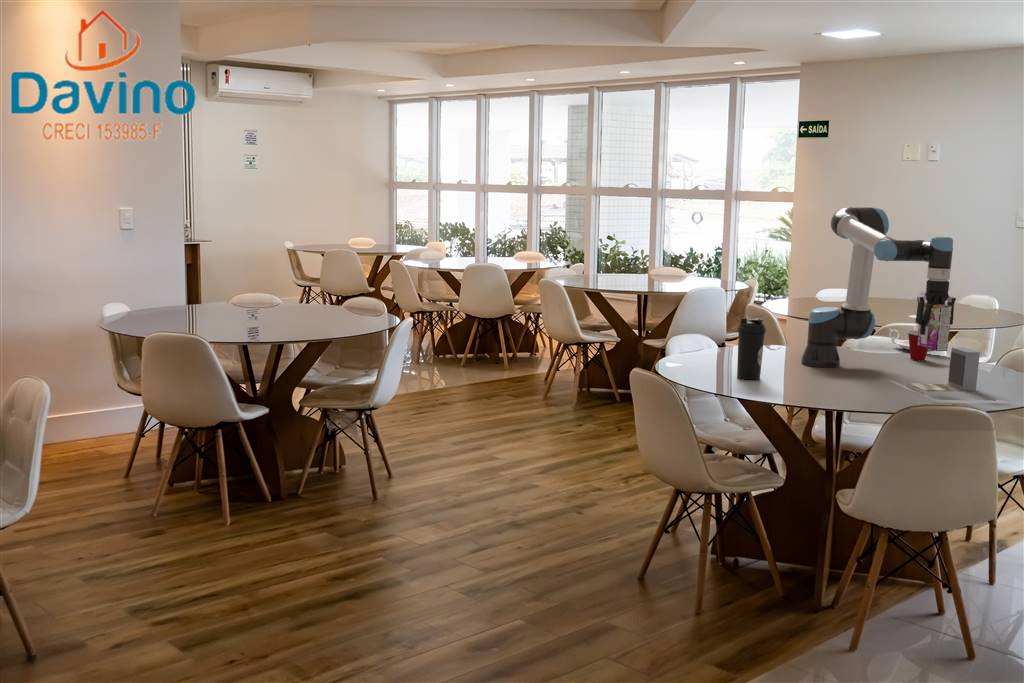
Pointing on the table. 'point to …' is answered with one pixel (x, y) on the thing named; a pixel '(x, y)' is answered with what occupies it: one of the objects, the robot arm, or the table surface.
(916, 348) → the plastic cup
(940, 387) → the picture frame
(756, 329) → the water bottle
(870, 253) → the robot arm
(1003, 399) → the table surface
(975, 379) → the grey upright block
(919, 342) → the candy bar box
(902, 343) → the candlestick
